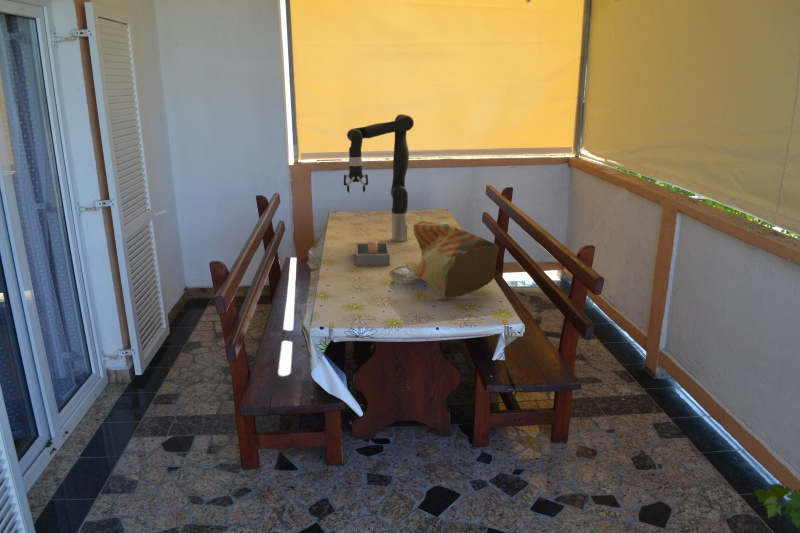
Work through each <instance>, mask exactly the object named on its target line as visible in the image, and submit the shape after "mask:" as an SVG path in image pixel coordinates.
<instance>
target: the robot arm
mask: <svg viewBox="0 0 800 533" xmlns="http://www.w3.org/2000/svg"><path fill="white" fill-rule="evenodd" d="M414 124H415V123H414V119H413V117H412V116H410V115H407V114H398V115H397V116H396V117H395V119H394V120H392V121H387V122H380V123H379V122H378V123H373V124H369V125H367V126H363V127H362V126H361V127H354V128H351V129H350V130H349V129H348V131H347V134H346V137H347V139H348V140H349V141H350V146H349V149H348V174H343V186H346V191H347V192H348V194H349V193H350V186H351V184H352V183H361V185H362V193H365V192H366V186H368V185H369V177H368V174H367V173H365V174H363V159H362V146H363V139H372V138H375V137H379V136H383V135H387V134H391V133H394V145H393V161H392V183H391V189H390V195H391V197H392V207H391V240H392V241H393V242H394V241H395V242H405V241H406V242H407V241H408V221H407V220H408V213H407V212H408V203H409V202H408V201H409V200H408V199H409V195H408V191H407V189H406V175H407V171H408V167H409V159H410V151H409V147H408V143H407V142H408V141H407V131H410V130H412V128H413V127H414ZM348 178H349V180H348V181H347V179H348ZM363 178H364V179H365V182H364V181H363Z"/></svg>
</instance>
